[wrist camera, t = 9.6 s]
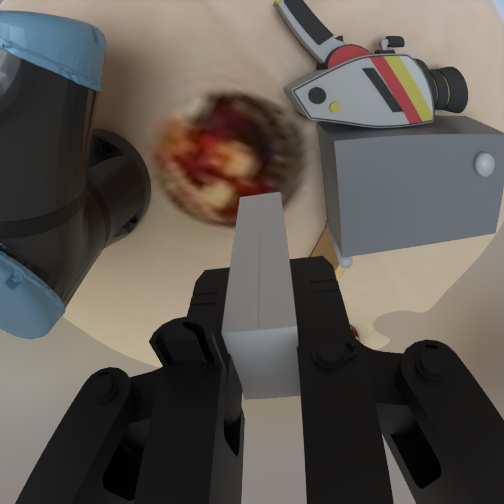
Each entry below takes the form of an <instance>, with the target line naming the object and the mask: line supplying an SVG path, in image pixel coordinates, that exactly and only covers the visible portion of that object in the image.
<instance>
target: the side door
mask: <svg viewBox="0 0 504 504" xmlns="http://www.w3.org/2000/svg"><path fill="white" fill-rule="evenodd" d="M326 225H327V228H326V229H325V231H324V233H323V235H322V237H321V239H320V240H319V242H318V244H317V246H316V248H315V249H314V251H313V253H312V255H311V257H315V256H324V257H325V258H326V259H327V260H328V261H329V262H330V263H331V264H332V265H333V268H334V271H335V274H336V279H337V281H339V279H340V278H341V276H342V275H343V273H344V272H345V270H346V268H349V267H350V266H351V265H352V263H353V261H352V258H351V256H349V257H342V256H341V253H340V250H339V248H338V245H337V242H336V239H335V237H334V234H333V231H332V229H331V226H330V223H329V221H328V222H327V224H326Z"/></svg>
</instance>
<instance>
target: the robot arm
mask: <svg viewBox="0 0 504 504" xmlns="http://www.w3.org/2000/svg"><path fill="white" fill-rule="evenodd" d="M106 48H107V44H106V39H105V36H104V35H103V33H102V32H101V31H100V30H99V29H98V28H97V27H95V26H93V25H91V24H88V23H85V22H82V21H78V20H74V19H70V18H66V17H61V16H55V15H50V14H43V13H35V12H25V11H0V328H1V329H2V330H4V331H6V332H8V333H11V334H12V335H15V336H17V337H21V338H26V339H34V338H39V337H43V336H45V335H46V334H47V333H48V332H49V331H50V330H51V329H52V327H53V326H54V325H55V323H56V322H57V321H58V320H59V318H60V317H61V316H62V315H63V314H64V313H65V308H66V306H67V305H68V303H69V301H70V300H71V298H72V296H73V295H74V293H75V292H76V290H77V288H78V287H79V285H80V284H81V282H82V281H83V279H84V277H85V276H86V274H87V273H88V271H89V270H90V268H91V267H92V265H93V264H94V262H95V261H96V259H97V258H98V256H99V255H100V253H101V252H102V250H103V249H104V248H106V247H108V246H109V245H111V244H113V243H115V242H117V241H119V240H121V239H123V238H124V237H126V236H127V235H129V234H130V233H131V232H132V231H133V230H134V229H135V228H136V227H137V225H138V224H139V222H140V221H141V219H142V218H143V216H144V215H145V213H146V211H147V208H148V205H149V201H150V194H151V186H150V179H149V175H148V171H147V168H146V166H145V164H144V162H143V160H142V158H141V156H140V155H139V154H138V152H137V151H136V150H135V148H134V147H133V146H132V145H131V144H130V143H128V142H127V141H126V140H125V139H123V138H122V137H120V136H118V135H116V134H114V133H112V132H109V131H105V130H92V129H93V122H94V116H95V110H96V105H97V100H98V95H99V92H101V90H102V85H101V77H102V71H103V65H104V59H105V54H106ZM149 343H150V344H151V346H152V348H153V350H154V351H155V353H156V355H157V357H158V358H159V360H160V362H161V363H162V365H163V367H161V368H159V369H157V370H154V371H152V372H148V373H144V374H141V375H137V376H133V377H128V375H127V374H126V372H124V371H123V370H121V369H119V368H112V367H109V368H104V369H100V370H99V371H97V372H95V373H94V374H92V375H91V376H90V378H89V379H88V380H87V381H86V382H85V383H84V385H83V386H82V388H81V390H80V391H79V393H78V394H77V396H76V397H75V399H74V401H73V402H72V404H71V406H70V407H69V409H68V411H67V412H66V414H65V415H64V417H63V419H62V420H61V422H60V424H59V425H58V427H57V429H56V430H55V432H54V434H53V436H52V437H51V439H50V441H49V442H48V444H47V446H46V448H45V449H44V451H43V453H42V455H41V457H40V458H39V460H38V462H37V464H36V465H35V467H34V469H33V471H32V473H31V474H30V476H29V478H28V480H27V482H26V484H25V486H24V488H23V490H22V491H21V493H20V495H19V497H18V500H17V501H16V503H15V504H241V494H242V471H243V447H244V423H245V419H244V413H243V410H242V407H241V401H242V393H243V395H244V398H245V399H262V398H277V397H288V396H299V395H301V407H302V421H303V436H304V453H305V472H306V493H307V504H394V503H393V496H392V490H391V483H390V477H389V471H388V465H387V459H386V454H385V449H384V443H383V439H382V434H383V436H384V438H385V440H386V442H387V444H388V446H389V448H390V450H391V452H392V454H393V456H394V458H395V460H396V462H397V464H398V466H399V469H400V471H401V473H402V475H403V477H404V479H405V481H406V483H407V485H408V487H409V489H410V491H411V493H412V495H413V497H414V499H415V501H416V504H504V420H503V418H502V417H501V415H500V414H499V412H498V411H497V410H496V408H495V407H494V405H493V404H492V402H491V401H490V399H489V398H488V397H487V395H486V394H485V392H484V391H483V389H482V388H481V387H480V385H479V384H478V383H477V381H476V380H475V378H474V377H473V376H472V374H471V373H470V371H469V370H468V369H467V367H466V366H465V365H464V363H463V362H462V361H461V359H460V358H459V357H458V356H457V354H456V353H455V352H454V351H453V350H452V349H451V348H450V347H449V346H447V345H446V344H444V343H441V342H439V341H434V340H423V341H419V342H415V343H414V344H412V345H411V346H410V347H408V348H407V349H406V350H405V352H404V354H401V353H390V352H382V351H377V350H373V349H371V348H368V347H366V346H364V345H363V344H362V343H360V342H359V341H358V340H357V339H356V338H355V336H354V335H353V333H352V331H351V328H350V324H349V320H348V317H347V313H346V309H345V306H344V302H343V299H342V295H341V292H340V289H339V285H338V281H337V279H336V274H335V271H334V268H333V265H332V264H331V263H330V262H329V261H328V260H327V259H326V258H325V257H324V256H315V257H307V258H298V259H290V260H289V253H288V245H287V237H286V230H285V222H284V215H283V207H282V200H281V193H280V192H276V193H268V194H261V195H253V196H246V197H240V201H239V208H238V215H237V222H236V229H235V236H234V243H233V250H232V257H231V264H230V267H229V268H220V269H211V270H205V271H204V272H203V273H202V275H201V276H200V277H199V278H198V279H197V281H196V283H195V287H194V290H193V296H192V298H191V302H190V307H189V310H188V314H187V317H182V318H177V319H173V320H171V321H169V322H167V323H165V324H163V325H162V326H161V327H159V328H158V329H157V330H156V331H155V332H154V333H153V335H152V337H151V339H150V341H149Z"/></svg>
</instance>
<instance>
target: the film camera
mask: <svg viewBox="0 0 504 504" xmlns="http://www.w3.org/2000/svg"><path fill="white" fill-rule="evenodd" d="M273 6H274V7H277V9H278V11H279V12H280V14H281V16H282V17H283V19H284V20H285V22H286V23H287V25H288V26H289V28H290V29H291V30H292V32H293V33H294V34H295V36H296V37H297V38H298V40H299V41H300V42H301V43H302V45H303V46H304V47H305V48H306V49H307V50H308V51H309V52H310V53H311V54H312V56H313V57H314V58H315V59H317V60H318V61H319V62H318V66H317V70H316V71H314V72H312V73H310V74H308V75H306V76H304V77H302V78H300V79H299V80H297V81H295V82H293V83H291V84H289V85H288V86H286V87H284V91H285V92H286V94H287V95H288V97H289V98H290V100H291V101H292V103H293V104H294V106H295V107H296V109H297V110H298V112H300V113H301V114H303V115H304V116H306V117H307V118H309V119H311V120H319V121H327V122H335V123H342V124H349V125H356V126H363V127H372V128H393V127H404V126H412V125H418V124H424V123H429V122H433V120H434V117H435V110H440V109H441V110H446V111H450V112H454V113H461V112H462V111H463V110H464V109H465V107H466V105H467V101H468V89H467V85H466V82H465V79H464V77H463V76H462V74H461V73H460V72H459V71H458V70H457V69H456V68H454V67H445V68H441V69H436V70H428V67H427V66H426V64H425V63H424V62H423V61H421V60H419V59H414V58H412V57H411V56H410V55H408V54H398V53H396V54H395V51H394V50H388V48H387V46H388V47H404V44H405V42H404V39H403V38H402V37H400V36H387V37H386V39H382V40H380V47H381V50H376V51H375V54H374V55H372V54H371V53H370V52H369V51H368V50H366V49H365V48H363V47H361V46H358V45H352V44H349V45H347V44H345V43H344V42H343V35H342V36H338V37H337V38H334V37H333V34H332V33H331V32H330V31H329V30H328V29H327V28H326V27H325V26H324V25H323V24H322V23H321V21H320V20H319V19H318V18H317V17H316V16H315V15H314V13H313V12H312V11H311V10H310V9H309V7H308V6H307V5H306V4H305V2H304V1H303V0H276V1H275V2H274V4H273Z"/></svg>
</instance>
